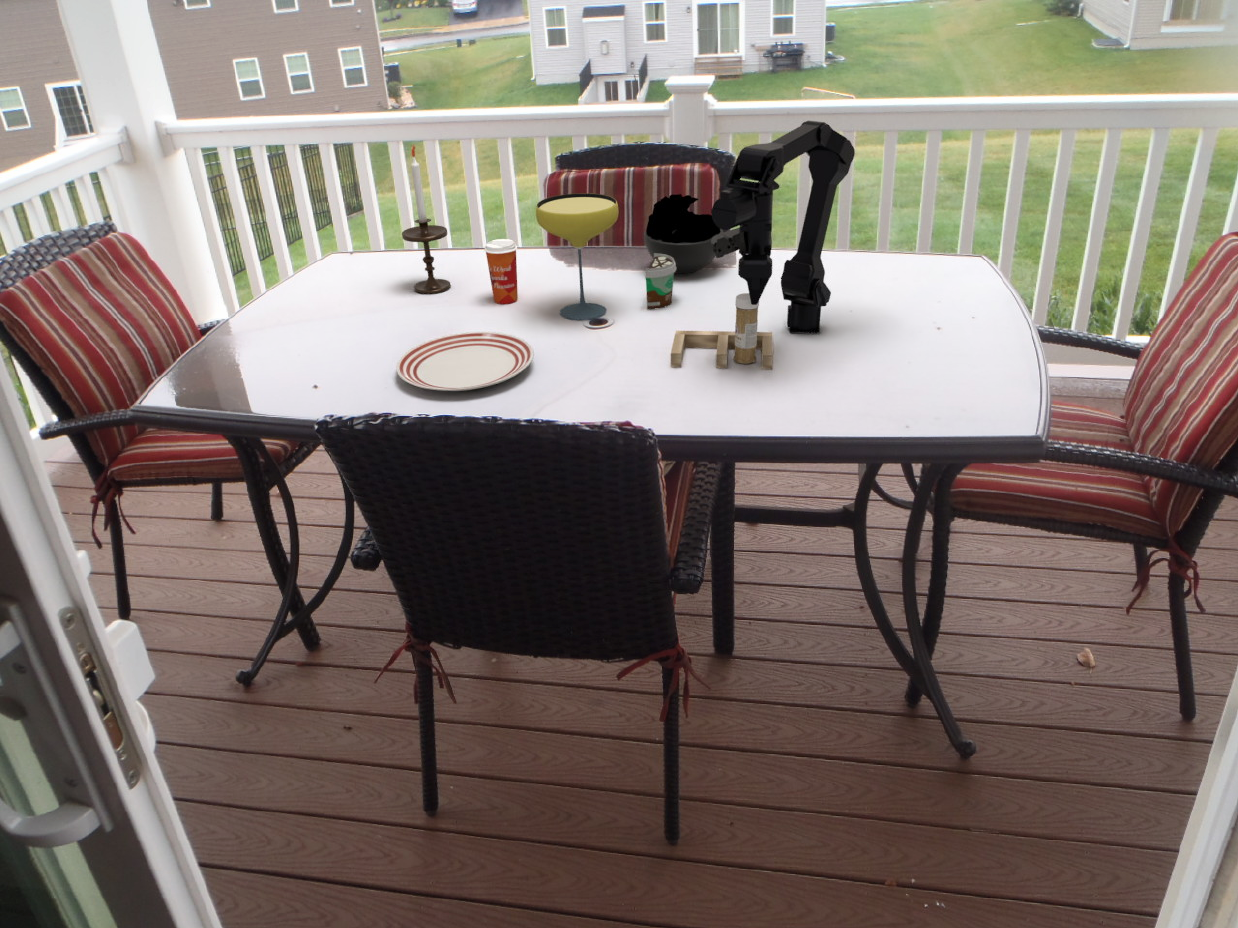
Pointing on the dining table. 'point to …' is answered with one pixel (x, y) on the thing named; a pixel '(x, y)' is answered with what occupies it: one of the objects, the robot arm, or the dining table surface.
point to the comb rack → (718, 345)
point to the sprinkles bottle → (745, 329)
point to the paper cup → (502, 270)
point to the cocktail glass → (578, 234)
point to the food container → (660, 281)
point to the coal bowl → (681, 233)
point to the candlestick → (425, 237)
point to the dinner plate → (465, 361)
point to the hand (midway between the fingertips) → (754, 296)
